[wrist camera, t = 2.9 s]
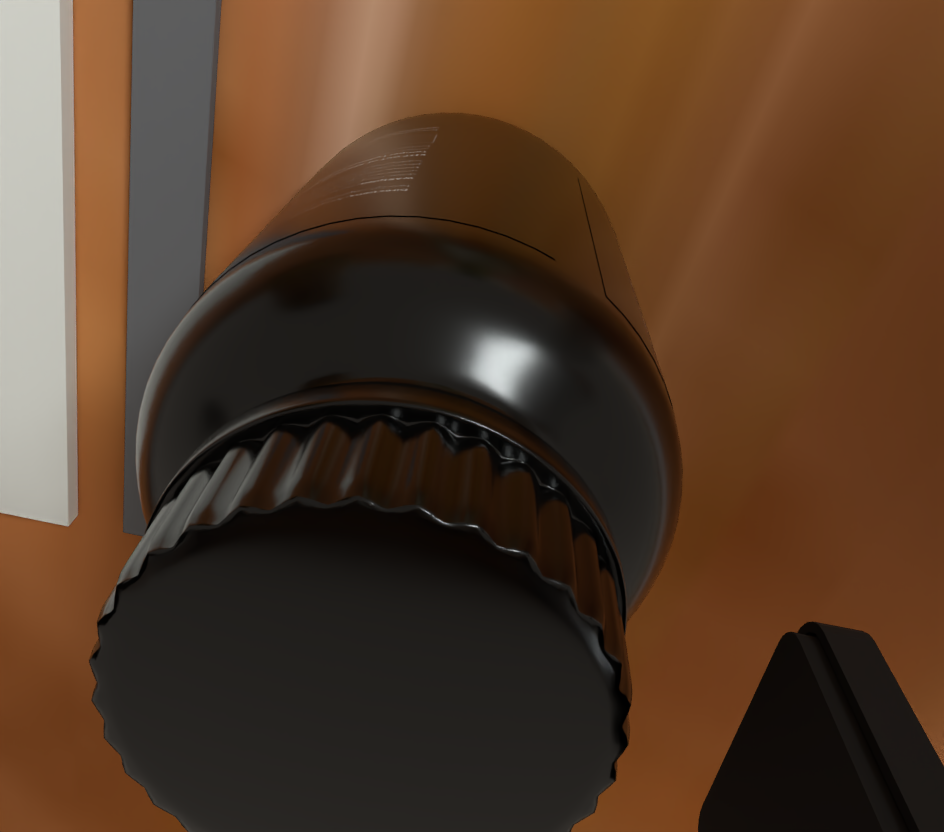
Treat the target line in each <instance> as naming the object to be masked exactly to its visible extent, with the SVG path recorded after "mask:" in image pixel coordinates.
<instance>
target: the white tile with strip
mask: <svg viewBox="0 0 944 832" xmlns="http://www.w3.org/2000/svg"><path fill="white" fill-rule="evenodd" d="M220 16H221V0H133V41H132V94H131V146H130V199H129V251H128V304H127V356H126V409H125V461H124V514H123V532H124V533H129V534H134V535H139V536H144V533H145V530H146V527H147V524H146V521H145V518H144V515H143V511H142V506H141V501H140V496H139V491H138V485H137V473H136V431H137V424H138V418H139V411H140V407H141V403H142V400H143V396H144V392H145V389H146V385H147V382H148V379H149V377H150V374H151V372H152V370H153V367H154V365H155V362H156V360H157V358H158V356H159V355H160V353H161V351H162V349H163V347H164V346H165V344H166V342H167V340H168V338H169V337H170V336H171V334H172V333H173V331H174V330H175V328H176V327H177V326H178V324H179V323H180V322H181V320H182V319H183V317H184V316H185V315H186V313H187V312H188V311H189V309H190V308H191V306H192V305H193V304H194V303H195V302H196V300H197V299H198V298H199V297H200V296H201V295H202V294H203V290H204V274H205V258H206V242H207V226H208V210H209V193H210V177H211V161H212V145H213V129H214V113H215V97H216V80H217V64H218V48H219V32H220ZM0 513H5V514H10V515H14V516H19V517H24V518H29V519H34V520H39V521H44V522H49V523H54V524H59V525H63V526H69V525H70V524H71V523H72V522H73V520H74V519H75V518H76V517H77V516H78V457H77V361H76V265H75V169H74V73H73V0H0Z"/></svg>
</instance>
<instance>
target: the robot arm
mask: <svg viewBox="0 0 944 832" xmlns="http://www.w3.org/2000/svg"><path fill="white" fill-rule="evenodd" d="M698 832H944V766H943V764H942V762H941V761H940V759H939V757H938V755H937V753H936V752H935V750H934V748H933V746H932V744H931V742H930V741H929V739H928V737H927V735H926V733H925V732H924V730H923V728H922V726H921V724H920V723H919V721H918V719H917V717H916V715H915V714H914V712H913V710H912V708H911V706H910V704H909V703H908V701H907V699H906V697H905V695H904V694H903V692H902V690H901V688H900V686H899V685H898V683H897V681H896V679H895V677H894V676H893V674H892V672H891V670H890V668H889V666H888V665H887V663H886V661H885V659H884V657H883V656H882V654H881V652H880V650H879V648H878V647H877V645H876V643H875V641H874V640H873V639H872V637H871V636H870V635H869V634H867V633H865V632H863V631H859V630H854V629H849V628H844V627H838V626H833V625H828V624H823V623H818V622H807V623H806V624H804V625H803V626H802V627H801V628H800V629H799V631H798V633H795V632H787V633H786V634H785V635H783V636H782V638H781V640H780V641H779V643H778V645H777V647H776V649H775V652H774V654H773V656H772V658H771V660H770V662H769V664H768V667H767V669H766V671H765V673H764V675H763V677H762V679H761V682H760V684H759V686H758V688H757V690H756V692H755V694H754V696H753V699H752V701H751V703H750V705H749V707H748V709H747V711H746V714H745V716H744V718H743V720H742V722H741V724H740V726H739V729H738V731H737V733H736V735H735V737H734V739H733V741H732V743H731V746H730V748H729V750H728V752H727V754H726V756H725V758H724V761H723V763H722V765H721V767H720V769H719V771H718V773H717V775H716V778H715V780H714V782H713V784H712V786H711V788H710V790H709V793H708V795H707V797H706V799H705V801H704V803H703V806H702V808H701V811H700V816H699V824H698Z"/></svg>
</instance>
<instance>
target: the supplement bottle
mask: <svg viewBox="0 0 944 832" xmlns="http://www.w3.org/2000/svg"><path fill="white" fill-rule="evenodd" d="M136 473H137V485H138V491H139V496H140V501H141V506H142V511H143V515H144V518H145V521H146V524H147V527H146V530H145V533H144V536H143V538H142V539H141V541H140V543H139V544H138V546H137V547H136V549H135V550H134V552H133V553H132V555H131V556H130V558H129V560H128V561H127V563H126V564H125V566H124V568H123V570H122V571H121V574H120V576H119V579H118V582H117V585H116V586H115V588H114V589H113V591H112V592H111V594H110V596H109V597H108V599H107V600H106V602H105V604H104V606H103V607H102V610H101V612H100V615H99V618H98V621H97V627H98V637H99V639H98V640H97V642H96V644H95V646H94V648H93V650H92V653H91V656H90V659H89V663H90V666H91V669H92V672H93V674H94V677H95V679H96V681H97V683H96V686H95V689H94V692H93V696H92V702H93V704H94V705H95V707H96V709H97V710H98V712H99V713H100V715H101V716H102V718H103V719H104V738H105V740H106V741H107V742H108V743H109V744H110V745H111V746H112V747H113V748H114V749H115V750H116V751H117V752H118V753H119V754H120V755H121V759H122V765H123V768H124V771H125V773H126V774H127V775H128V776H130V777H131V778H132V779H133V780H135V781H136V782H137V783H139V784H140V785H141V786H143V787H144V788H145V790H146V792H147V794H148V796H149V798H150V799H151V801H152V803H153V804H154V805H155V806H157V807H159V808H161V809H162V810H164V811H166V812H168V813H169V814H171V815H173V816H175V817H176V818H177V819H178V821H179V822H180V823H181V825H182V826H183V827H184V828H185V829H186V830H187V831H188V832H571V829H572V828H573V826H574V824H576V823H578V822H580V821H581V820H583V819H585V818H586V817H588V816H590V815H591V814H593V813H594V812H595V810H596V807H597V803H598V796H599V795H600V794H601V793H602V792H604V791H605V790H606V789H607V788H608V787H610V786H611V785H612V784H613V783H614V782H615V781H616V777H617V759H618V758H619V757H620V756H621V755H622V753H623V752H624V750H625V749H626V747H627V746H628V744H629V736H630V726H629V717H628V712H629V709H630V706H631V701H632V683H631V676H630V669H629V662H628V655H627V648H626V642H625V632H626V622H627V621H628V620H629V619H630V618H631V616H632V615H633V614H634V613H635V612H636V611H637V609H638V608H639V606H640V605H641V603H642V602H643V600H644V599H645V597H646V596H647V594H648V593H649V591H650V590H651V588H652V586H653V584H654V582H655V580H656V579H657V577H658V575H659V573H660V571H661V569H662V567H663V565H664V562H665V560H666V557H667V555H668V552H669V549H670V547H671V544H672V541H673V538H674V534H675V530H676V526H677V523H678V517H679V510H680V504H681V497H682V475H683V469H682V458H681V447H680V441H679V436H678V431H677V426H676V421H675V416H674V412H673V407H672V403H671V400H670V397H669V394H668V390H667V387H666V384H665V381H664V378H663V375H662V372H661V369H660V366H659V363H658V360H657V357H656V354H655V351H654V348H653V345H652V342H651V339H650V336H649V333H648V330H647V327H646V324H645V321H644V318H643V315H642V312H641V309H640V306H639V303H638V300H637V297H636V294H635V291H634V288H633V285H632V282H631V279H630V276H629V273H628V270H627V267H626V264H625V261H624V258H623V255H622V252H621V249H620V246H619V243H618V241H617V238H616V235H615V232H614V230H613V228H612V225H611V223H610V220H609V218H608V216H607V214H606V211H605V209H604V207H603V205H602V204H601V202H600V200H599V199H598V197H597V195H596V193H595V192H594V190H593V189H592V188H591V186H590V185H589V184H588V182H587V181H586V179H585V178H584V177H583V176H582V175H581V173H580V172H579V171H578V170H577V169H576V168H575V167H574V166H573V165H572V163H571V162H569V161H568V160H567V159H566V158H565V157H564V156H563V155H562V154H561V153H559V152H558V151H557V150H556V149H554V148H553V147H551V146H550V145H549V144H547V143H546V142H545V141H543V140H541V139H540V138H538V137H536V136H534V135H533V134H531V133H529V132H527V131H525V130H523V129H521V128H518V127H516V126H514V125H512V124H509V123H506V122H503V121H500V120H497V119H493V118H488V117H484V116H479V115H472V114H464V113H435V114H424V115H419V116H414V117H409V118H405V119H402V120H398V121H395V122H392V123H389V124H387V125H385V126H382V127H380V128H377V129H375V130H373V131H371V132H369V133H368V134H366V135H364V136H362V137H360V138H359V139H357V140H356V141H354V142H353V143H351V144H350V145H348V146H347V147H346V148H344V149H343V150H342V151H341V152H339V153H338V154H337V155H336V156H335V157H334V158H333V159H331V160H330V161H329V162H328V163H327V164H326V165H325V166H324V167H323V168H321V169H320V170H319V171H318V173H317V174H316V175H315V176H314V177H313V178H312V179H311V180H310V181H309V182H308V183H307V184H306V185H305V186H304V187H303V188H302V189H301V190H300V191H299V192H298V194H297V195H296V196H295V197H294V198H293V199H292V200H291V201H290V202H289V203H288V204H287V205H286V206H285V207H284V208H283V209H282V210H281V211H280V212H279V213H278V215H277V216H276V217H275V218H274V219H273V220H272V221H271V222H270V223H269V224H268V225H267V226H266V227H265V228H264V229H263V230H262V231H261V232H260V233H259V235H258V236H257V237H256V238H255V239H254V240H253V241H252V242H251V243H250V244H249V245H248V246H247V247H246V248H245V249H244V250H243V251H242V252H241V253H240V254H239V256H238V257H237V258H236V259H235V260H234V261H233V262H232V263H231V264H230V265H229V266H228V267H227V268H226V269H225V270H224V271H223V272H222V273H221V275H220V276H219V277H218V278H217V279H216V280H215V281H214V282H213V283H212V284H211V285H210V286H209V287H208V288H207V290H206V291H205V292H204V293H203V294H202V295H201V296H200V297H199V298H198V299H197V300H196V302H195V303H194V304H193V305H192V306H191V308H190V309H189V311H188V312H187V313H186V315H185V316H184V317H183V319H182V320H181V322H180V323H179V324H178V326H177V327H176V328H175V330H174V331H173V333H172V334H171V336H170V337H169V338H168V340H167V342H166V344H165V346H164V347H163V349H162V351H161V353H160V355H159V356H158V358H157V360H156V362H155V365H154V367H153V370H152V372H151V374H150V377H149V379H148V382H147V385H146V389H145V392H144V396H143V400H142V403H141V407H140V411H139V418H138V424H137V431H136Z"/></svg>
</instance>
